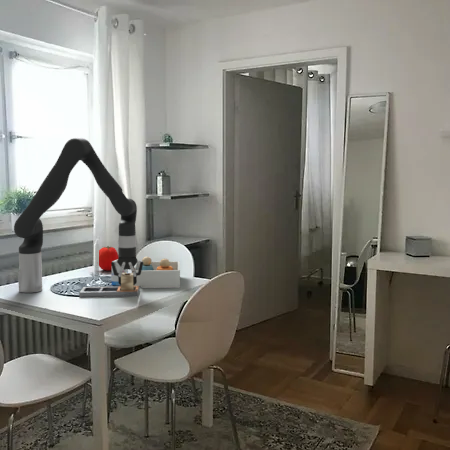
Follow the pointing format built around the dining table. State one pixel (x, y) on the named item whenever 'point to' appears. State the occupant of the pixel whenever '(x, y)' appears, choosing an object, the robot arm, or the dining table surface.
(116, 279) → the ink box
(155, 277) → the box
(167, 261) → the wooden peg dolls
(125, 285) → the beige upright block
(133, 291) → the gray sorting tray
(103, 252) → the tomato
